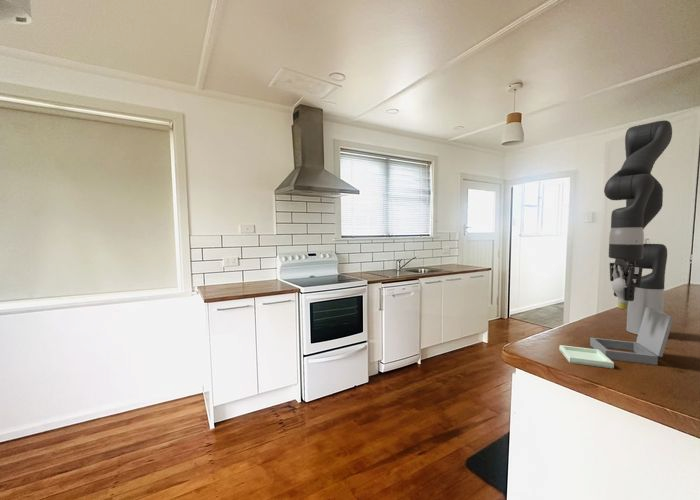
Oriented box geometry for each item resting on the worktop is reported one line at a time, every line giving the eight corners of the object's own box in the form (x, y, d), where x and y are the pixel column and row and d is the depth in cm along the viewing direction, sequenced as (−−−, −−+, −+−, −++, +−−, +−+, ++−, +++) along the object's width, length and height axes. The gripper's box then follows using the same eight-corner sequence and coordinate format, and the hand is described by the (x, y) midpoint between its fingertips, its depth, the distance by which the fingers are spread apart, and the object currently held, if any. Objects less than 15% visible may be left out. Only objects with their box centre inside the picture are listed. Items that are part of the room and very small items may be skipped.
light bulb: (640, 312, 85) (642, 278, 84) (618, 311, 86) (620, 278, 86) (626, 307, 90) (628, 276, 90) (606, 307, 91) (607, 275, 91)
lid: (646, 306, 91) (651, 308, 90) (635, 341, 92) (641, 343, 91) (670, 316, 80) (676, 318, 79) (658, 356, 81) (664, 357, 81)
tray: (559, 349, 92) (559, 345, 92) (598, 354, 89) (598, 349, 88) (569, 362, 83) (569, 357, 83) (613, 368, 79) (614, 363, 79)
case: (590, 344, 96) (590, 337, 96) (635, 349, 92) (635, 342, 92) (605, 358, 86) (605, 350, 86) (657, 365, 81) (657, 356, 81)
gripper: (656, 243, 79) (653, 305, 80) (629, 242, 92) (627, 294, 93) (621, 243, 82) (619, 302, 83) (600, 242, 95) (598, 293, 96)
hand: (623, 298), depth 88 cm, fingers closed on light bulb, 5 cm apart
